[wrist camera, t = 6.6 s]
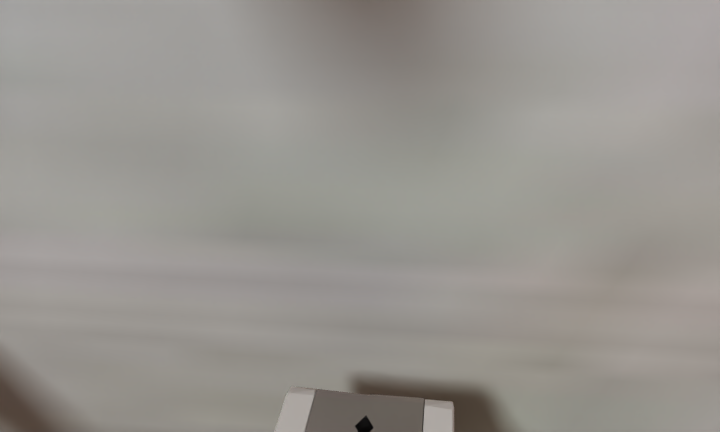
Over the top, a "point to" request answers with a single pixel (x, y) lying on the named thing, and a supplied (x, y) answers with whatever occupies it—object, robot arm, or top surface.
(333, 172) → the top surface
